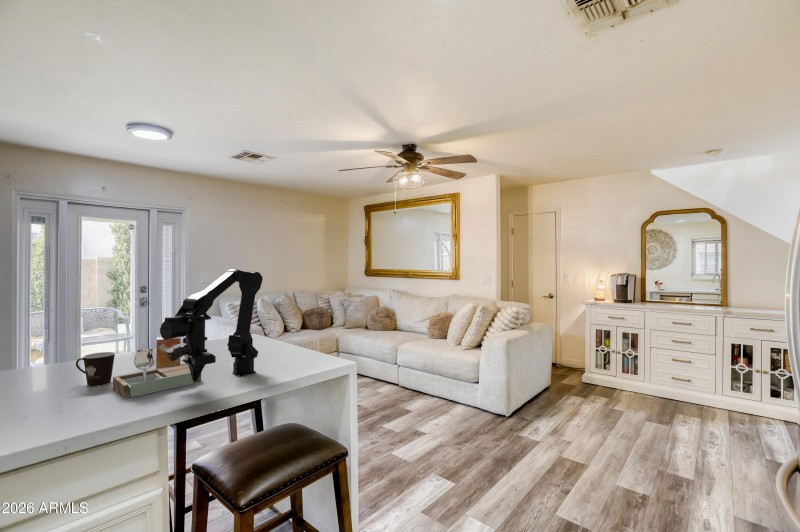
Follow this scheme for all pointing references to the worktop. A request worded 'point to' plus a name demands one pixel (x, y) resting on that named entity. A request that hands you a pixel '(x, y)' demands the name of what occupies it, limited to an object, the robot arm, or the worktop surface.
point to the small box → (161, 355)
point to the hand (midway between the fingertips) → (194, 380)
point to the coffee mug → (98, 367)
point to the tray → (156, 383)
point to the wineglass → (144, 360)
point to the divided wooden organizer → (164, 372)
